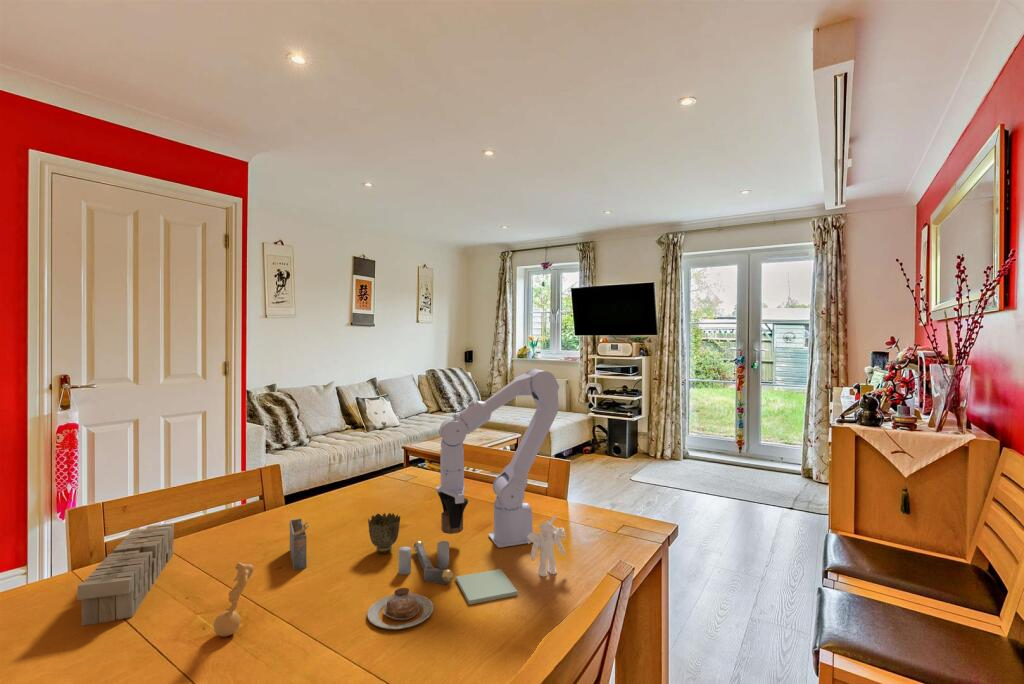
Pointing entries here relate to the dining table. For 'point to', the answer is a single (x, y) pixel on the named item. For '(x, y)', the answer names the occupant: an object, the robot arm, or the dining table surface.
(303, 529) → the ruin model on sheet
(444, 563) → the post inner
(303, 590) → the dining table surface
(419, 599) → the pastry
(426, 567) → the rail
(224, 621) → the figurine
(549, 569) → the hat wearing toy figure
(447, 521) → the napkin ring
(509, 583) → the pad
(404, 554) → the grey rounded cylinder
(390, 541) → the cup
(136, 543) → the block tower
